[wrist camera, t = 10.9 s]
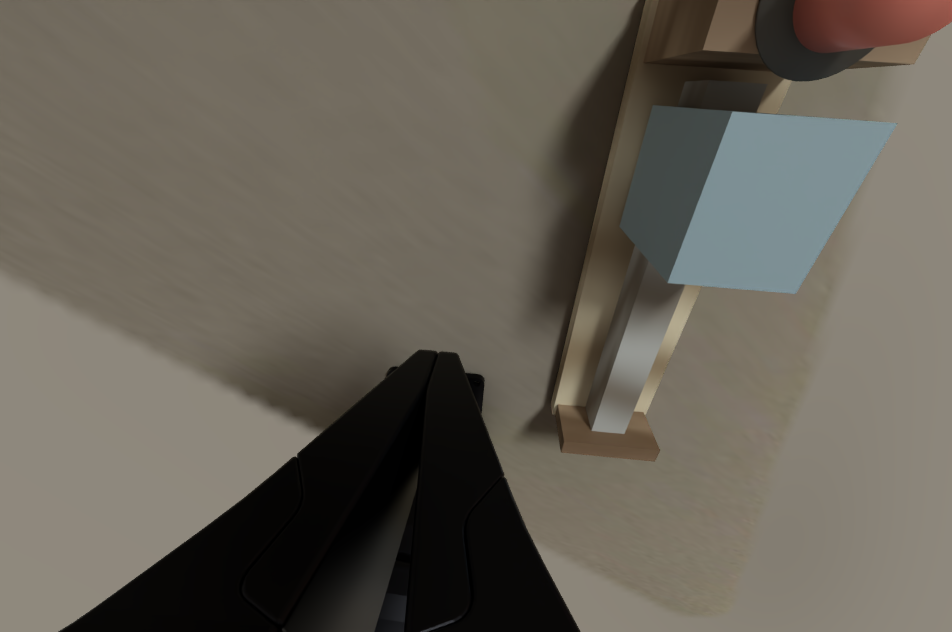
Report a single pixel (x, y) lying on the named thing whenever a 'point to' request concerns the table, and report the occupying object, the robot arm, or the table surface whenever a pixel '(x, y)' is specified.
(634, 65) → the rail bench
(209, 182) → the table surface
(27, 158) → the table surface
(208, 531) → the robot arm
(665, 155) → the light blue block
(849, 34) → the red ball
